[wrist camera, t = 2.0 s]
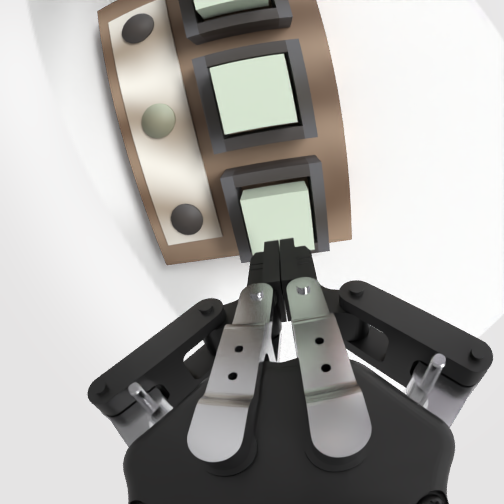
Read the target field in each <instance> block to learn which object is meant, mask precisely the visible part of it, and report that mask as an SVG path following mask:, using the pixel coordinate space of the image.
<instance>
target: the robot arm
mask: <svg viewBox="0 0 504 504" xmlns="http://www.w3.org/2000/svg"><path fill="white" fill-rule="evenodd" d="M286 311H287V318H288V321H291V322H292V329H293V336H294V342H295V348H296V354H297V358H296V359H293V360H289V361H286V362H282V363H279V360H280V349H281V337H282V334H281V328H282V326H281V322H287V319H286ZM370 325H371V326H370ZM372 326H373V327H372ZM377 329H378V330H377ZM379 330H380V331H379ZM382 332H383V333H382ZM202 340H203V341H204V343H205V344H204V345H203V346H202V347H201V348H200V349H198V350H197V351H196V352H195V353H194V354H192V355H191V356H190V357H189V358H188V359H187V360H185V361H184V362H183V359H184V356H185V354H186V353H187V352H188V351H190V350H191V349H192V348H193V347H194V346H196V345H197V344H198V343H199V342H201V341H202ZM346 349H348V350H349V351H351V352H352V353H354V354H355V355H357V356H358V357H360V358H361V359H363V360H364V361H366V362H367V363H369V364H370V365H372V366H373V367H375V368H376V369H378V370H380V371H381V372H383V373H384V374H386V375H387V376H389V377H390V378H392V379H393V380H395V381H396V382H398V383H400V384H401V385H403V386H404V387H406V393H407V395H406V394H404V393H403V392H401V391H400V390H399V389H397V388H396V387H394V386H393V385H391V384H390V383H389V382H387V381H386V380H384V379H383V378H382V377H380V376H379V375H377V374H376V373H375V372H373V371H372V370H371V369H369V368H368V367H366V366H365V365H363V364H361V363H359V362H356V361H354V360H350V359H349V357H348V354H347V351H346ZM492 361H493V354H492V350H491V348H490V347H489V346H488V345H487V344H486V343H485V342H483V341H482V340H480V339H478V338H476V337H474V336H472V335H470V334H468V333H466V332H465V331H463V330H461V329H459V328H457V327H455V326H453V325H451V324H449V323H447V322H445V321H443V320H441V319H439V318H437V317H435V316H433V315H431V314H429V313H427V312H425V311H423V310H421V309H419V308H417V307H415V306H413V305H411V304H409V303H407V302H405V301H403V300H401V299H399V298H397V297H395V296H393V295H391V294H389V293H387V292H385V291H383V290H381V289H379V288H377V287H375V286H372V285H370V284H368V283H366V282H363V281H350V282H347V283H345V284H343V285H342V286H341V288H340V290H332V289H327V288H325V287H323V286H321V285H320V284H319V282H318V281H317V277H316V272H315V268H314V264H313V259H312V255H311V251H310V250H309V249H308V248H307V247H306V246H298V247H295V245H294V238H287V239H280V245H279V240H273V241H266V242H264V251H263V252H256V253H255V254H254V255H253V256H252V258H251V260H250V268H249V276H248V283H247V287H246V288H244V289H243V290H242V292H241V294H240V297H239V299H238V300H236V301H234V302H232V303H229V304H226V305H223V304H222V302H221V301H220V300H218V299H214V298H209V299H205V300H202V301H200V302H198V303H197V304H195V305H194V306H193V307H191V308H190V309H189V310H187V311H186V312H185V313H183V314H182V315H181V316H180V317H178V318H177V319H176V320H175V321H173V322H172V323H170V324H169V325H168V326H166V327H165V328H164V329H162V330H161V331H160V332H158V333H157V334H156V335H154V336H153V337H152V338H150V339H149V340H148V341H146V342H145V343H144V344H142V345H141V346H140V347H138V348H137V349H136V350H134V351H133V352H132V353H130V354H129V355H128V356H126V357H125V358H124V359H122V360H121V361H120V362H118V363H117V364H116V365H114V366H113V367H112V368H110V369H109V370H108V371H106V372H105V373H104V374H102V375H101V376H100V377H98V378H97V379H96V380H94V381H93V382H92V384H91V385H90V387H89V389H88V398H89V400H90V402H92V404H94V405H95V406H96V407H97V408H98V409H99V410H100V411H101V412H102V413H103V415H105V416H106V417H107V418H108V419H109V420H111V422H112V423H113V425H114V426H115V428H116V429H117V431H118V432H119V434H120V435H121V437H122V438H123V439H124V441H125V443H126V444H127V445H128V447H129V448H128V450H127V452H126V454H125V457H124V462H123V468H124V469H123V470H124V475H125V479H126V482H127V487H128V497H129V498H128V499H129V502H128V504H449V503H448V500H447V481H448V475H449V471H450V467H451V464H452V461H453V457H454V451H455V442H454V437H453V434H452V432H451V430H450V426H451V425H452V423H453V422H454V420H455V418H456V417H457V415H458V413H459V412H460V410H461V408H462V406H463V405H464V403H465V401H466V399H467V397H468V396H469V395H470V394H471V392H472V391H473V390H474V388H475V387H476V386H477V384H478V383H479V382H480V380H481V379H482V377H483V376H484V374H485V373H486V372H487V370H488V369H489V367H490V365H491V364H492Z"/></svg>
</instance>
